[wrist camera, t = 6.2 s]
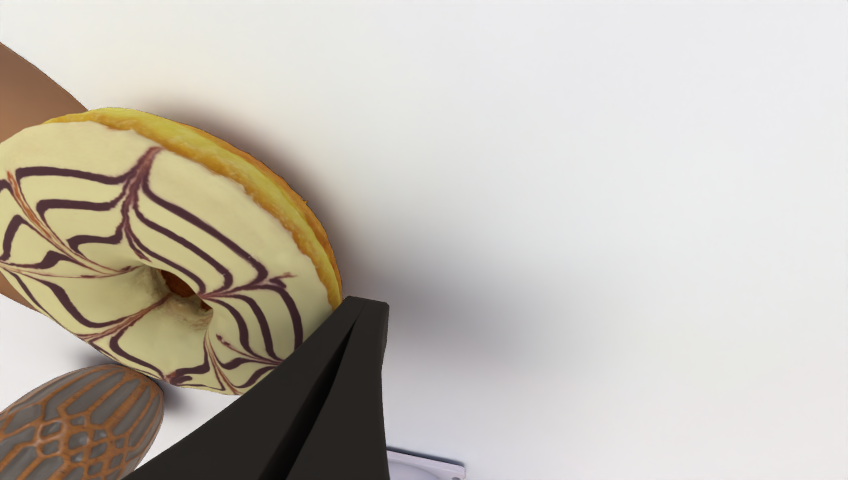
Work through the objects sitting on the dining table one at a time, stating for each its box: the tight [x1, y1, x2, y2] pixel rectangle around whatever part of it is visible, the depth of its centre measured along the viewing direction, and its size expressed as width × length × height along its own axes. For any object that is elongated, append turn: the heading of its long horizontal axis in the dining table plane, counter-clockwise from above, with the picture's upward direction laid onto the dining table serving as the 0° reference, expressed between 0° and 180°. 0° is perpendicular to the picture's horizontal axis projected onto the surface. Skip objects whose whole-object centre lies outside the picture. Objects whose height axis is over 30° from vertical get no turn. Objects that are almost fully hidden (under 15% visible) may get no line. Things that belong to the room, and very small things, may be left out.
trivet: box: [0, 42, 88, 313], centre depth 13 cm, size 15×15×1 cm
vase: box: [0, 364, 164, 480], centre depth 16 cm, size 7×7×9 cm
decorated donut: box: [0, 108, 342, 395], centre depth 10 cm, size 10×11×4 cm
